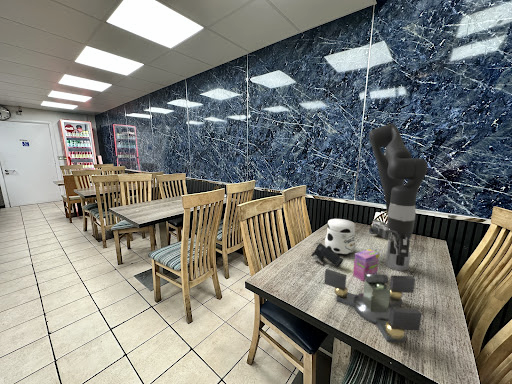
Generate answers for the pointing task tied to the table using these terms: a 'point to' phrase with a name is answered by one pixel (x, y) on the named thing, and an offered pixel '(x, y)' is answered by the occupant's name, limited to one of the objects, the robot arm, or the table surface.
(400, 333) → the knob
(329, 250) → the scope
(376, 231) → the camera
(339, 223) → the milk container
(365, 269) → the box
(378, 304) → the tribrach
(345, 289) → the grey upright plank
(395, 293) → the knob
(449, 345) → the table surface
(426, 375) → the table surface
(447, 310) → the table surface
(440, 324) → the table surface
